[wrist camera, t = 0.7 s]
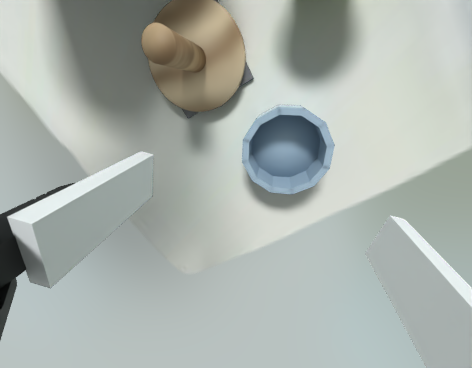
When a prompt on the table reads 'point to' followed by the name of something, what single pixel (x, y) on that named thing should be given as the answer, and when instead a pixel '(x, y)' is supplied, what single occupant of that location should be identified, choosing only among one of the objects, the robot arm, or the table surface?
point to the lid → (195, 54)
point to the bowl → (287, 149)
